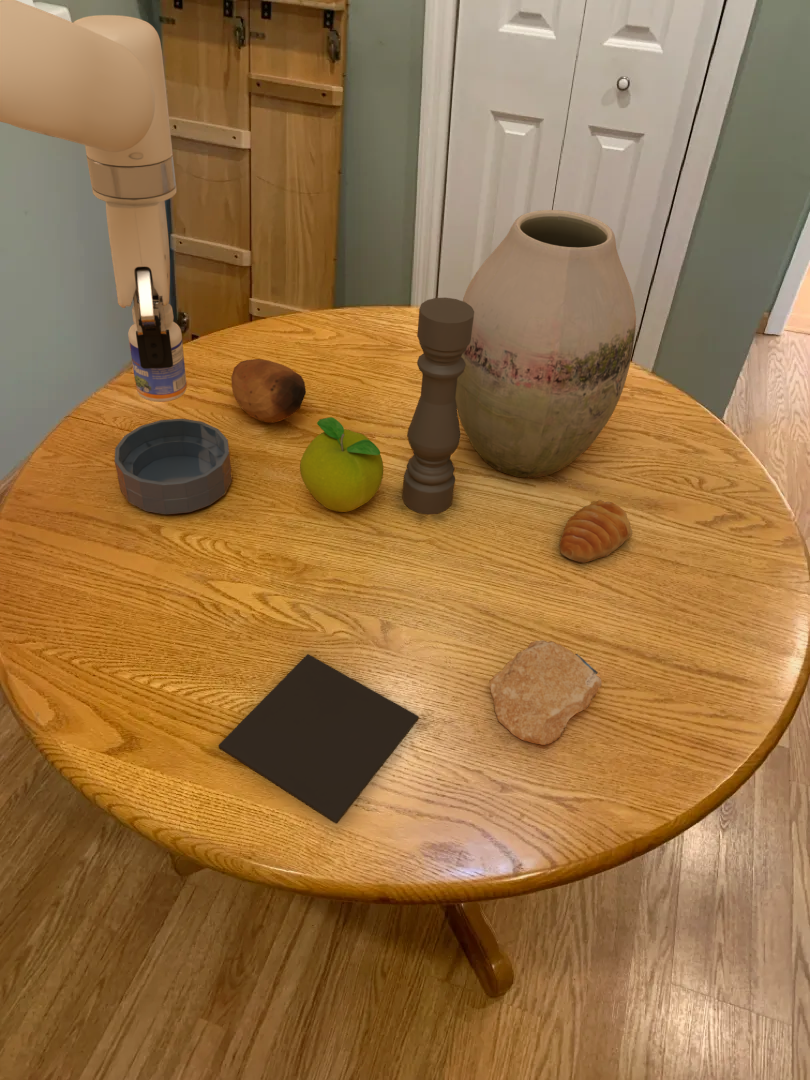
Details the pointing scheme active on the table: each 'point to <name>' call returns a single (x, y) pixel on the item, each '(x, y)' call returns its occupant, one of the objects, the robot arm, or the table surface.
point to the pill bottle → (160, 380)
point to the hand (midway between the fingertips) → (156, 350)
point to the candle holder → (437, 404)
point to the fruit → (341, 467)
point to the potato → (267, 389)
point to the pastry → (595, 532)
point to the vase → (545, 343)
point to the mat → (320, 736)
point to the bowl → (173, 466)
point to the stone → (542, 691)
